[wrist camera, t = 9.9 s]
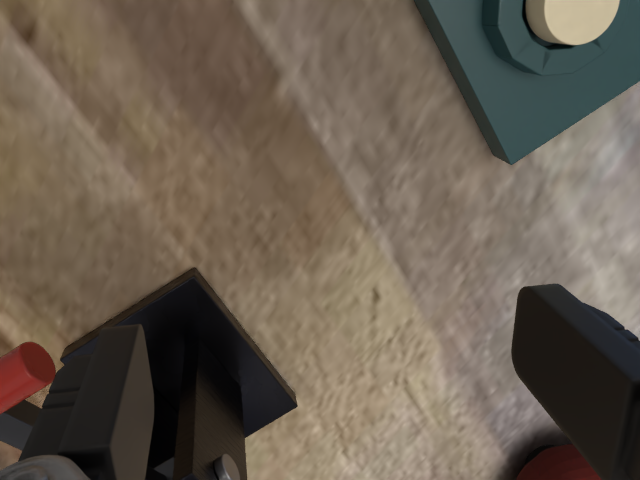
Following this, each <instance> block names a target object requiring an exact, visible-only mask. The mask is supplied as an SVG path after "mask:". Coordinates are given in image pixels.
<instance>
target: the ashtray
mask: <svg viewBox="0 0 640 480" xmlns="http://www.w3.org/2000/svg"><path fill="white" fill-rule="evenodd" d="M516 480H602V479H601V478H600V477H599V476H598V475H597V473H596V472H595V471H594V470H593V468H592V467H591V466H590V465H589V463H588V462H587V461H586V460H585V458H584V457H583V456H582V455H581V454H580V452H579V451H578V450H577V449H576V447H575V446H574V445H573V444H567V445H561V446H557V447H556V446H554V445H546V446H542V447H539V448H537V449H535V450H534V451H533V452H532V453H531V454H530V455H529V456H528V458H527V459H526V462H525V466H524V468H523V469H522V470H521V472H520V473H519V475H518V476H517V478H516Z"/></svg>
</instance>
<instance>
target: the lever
mask: <svg viewBox="0 0 640 480" xmlns="http://www.w3.org/2000/svg"><path fill="white" fill-rule="evenodd" d="M55 375H56V370H55V365H54V363H53V360H52V358H51V357H50V355H49V354H48V353H47V351H46V350H45V349H44V348H43V347H41V346H40V345H38V344H36V343H34V342H25V343H22V344H21V345H19V346H18V347H16V348H15V349H13V350H11V351H10V352H8V353H7V354H5V355H3V356H2V357H0V441H2V442H4V443H7V444H9V445H11V446H13V447H15V448H18V449H20V450H22V451H23V449H24V447H25V444H26V442H27V440H28V437H29V435H30V433H31V431H32V428H33V426H34V424H35V421H36V419H37V417H38V414H39V412H40V410H42V409H41V408H39V407H37V406H35V405H34V404H32V403H30V402H28V401H26V400H25V399H26V398H28V397H30V396H31V395H33V394H34V393H36V392H38V391H39V390H41V389H42V388H44V387H46V386H47V385H49V384H50V383H52V382H53V380H54V378H55ZM174 458H175V457H172V458H170V459H168V460H167V461H165V462H163V463H162V464H160V465H158V466H157V467H155V468H151V467H149V466H147V468H146V475H145V480H173V469H174Z"/></svg>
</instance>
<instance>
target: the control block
mask: <svg viewBox="0 0 640 480" xmlns="http://www.w3.org/2000/svg"><path fill="white" fill-rule="evenodd" d="M414 2H415V3H416V5H417V7H418V9H419V11H420V13H421V15H422V17H423V19H424V21H425V23H426V25H427V27H428V29H429V31H430V33H431V35H432V37H433V38H434V40H435V42H436V44H437V46H438V48H439V50H440V52H441V54H442V56H443V58H444V60H445V62H446V64H447V66H448V68H449V70H450V72H451V73H452V75H453V77H454V79H455V81H456V83H457V85H458V87H459V89H460V91H461V93H462V95H463V97H464V99H465V101H466V103H467V105H468V107H469V108H470V110H471V112H472V114H473V116H474V118H475V120H476V122H477V124H478V126H479V128H480V130H481V132H482V134H483V136H484V138H485V140H486V142H487V143H488V145H489V147H490V149H491V151H492V153H493V155H494V156H496V157H497V158H499V159H501V160H503V161H505V162H506V163H508V164H510V165H512V164H514V163H515V162H517V161H518V160H520V159H521V158H523V157H525V156H526V155H528V154H529V153H531V152H532V151H534V150H535V149H537V148H538V147H540V146H541V145H543V144H544V143H546V142H547V141H549V140H550V139H552V138H553V137H555V136H557V135H558V134H560V133H561V132H563V131H564V130H566V129H567V128H569V127H570V126H572V125H573V124H575V123H576V122H578V121H579V120H581V119H582V118H584V117H586V116H587V115H589V114H590V113H592V112H593V111H595V110H596V109H598V108H599V107H601V106H602V105H604V104H605V103H607V102H608V101H610V100H611V99H613V98H614V97H616V96H618V95H619V94H621V93H622V92H624V91H625V90H627V89H628V88H630V87H631V86H633V85H634V84H636V83H637V82H639V81H640V0H620V2H619V6H618V10H617V13H616V15H615V17H614V19H613V21H612V22H611V24H610V25H609V27H608V28H607V29H606V30H605V31H604V32H603V33H602V34H601V35H600V36H599V37H597V38H596V39H594V40H592V41H590V42H588V43H585V44H581V45H568V44H559V43H551V42H547V41H544V40H542V39H540V38H539V37H538V36H537V35H536V34H535V33H534V32H533V31H532V29H531V28H530V26H529V24H528V21H527V17H526V0H414Z"/></svg>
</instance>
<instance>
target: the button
mask: <svg viewBox="0 0 640 480" xmlns="http://www.w3.org/2000/svg"><path fill="white" fill-rule="evenodd" d="M619 2H620V0H526V17H527V21H528V24H529V26H530V28H531V29H532V31H533V32H534V33H535V34H536V35H537V36H538V37H539V38H540V39H542V40H544V41H547V42H551V43H559V44H568V45H581V44H585V43H588V42H590V41H592V40H594V39H596V38H597V37H599V36H600V35H601V34H602V33H603V32H604V31H605V30H606V29H607V28H608V27H609V25H610V24H611V22H612V21H613V19H614V17H615V15H616V13H617V10H618V6H619Z"/></svg>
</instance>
